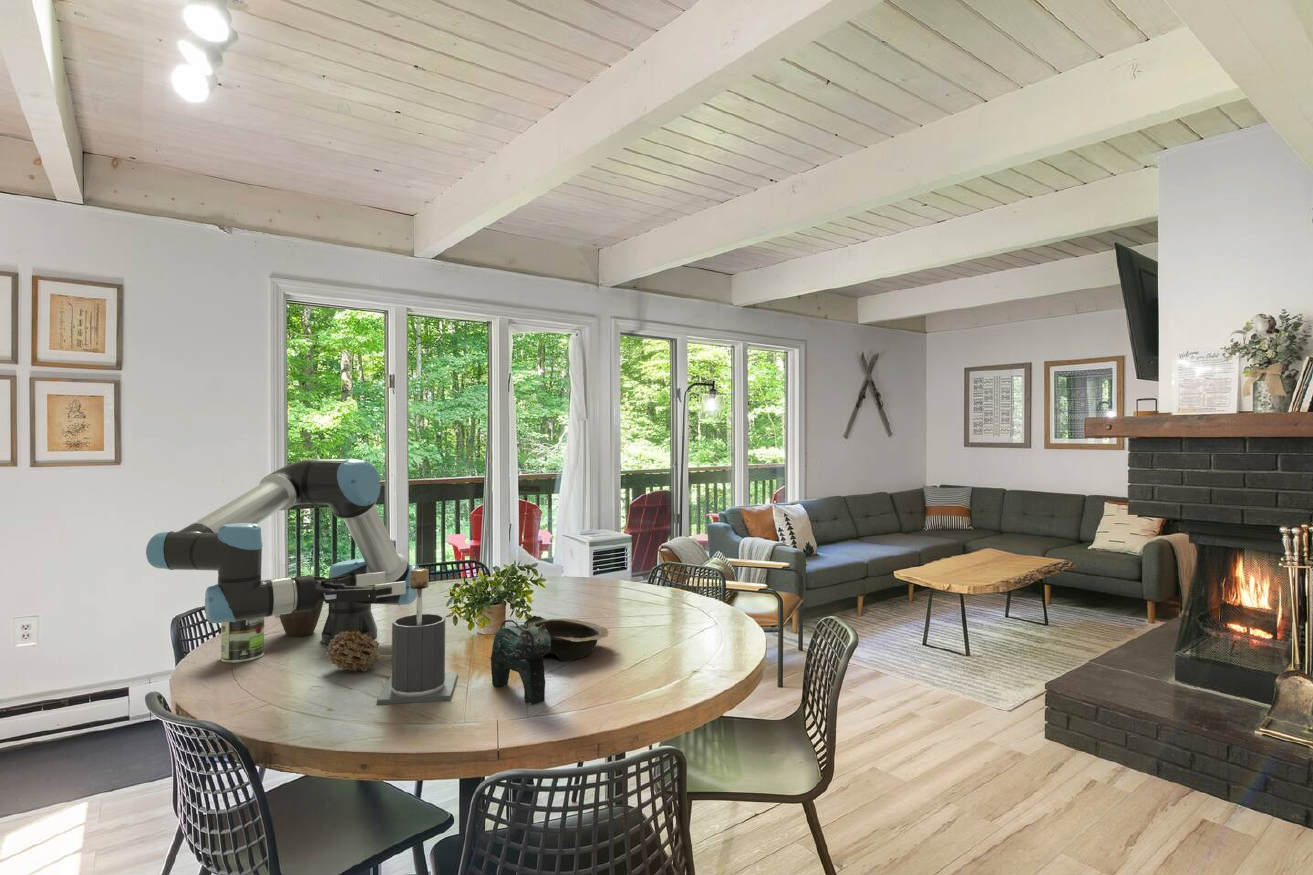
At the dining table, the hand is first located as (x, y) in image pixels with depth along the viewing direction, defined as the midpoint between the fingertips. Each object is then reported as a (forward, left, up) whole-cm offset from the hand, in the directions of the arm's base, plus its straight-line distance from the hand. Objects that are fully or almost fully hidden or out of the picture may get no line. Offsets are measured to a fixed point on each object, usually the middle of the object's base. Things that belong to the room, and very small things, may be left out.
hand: (394, 582), depth 158 cm
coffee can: (-37, -46, -27) cm, 65 cm away
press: (-5, +5, -27) cm, 28 cm away
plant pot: (-58, -38, -27) cm, 74 cm away
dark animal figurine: (+2, +28, -27) cm, 39 cm away
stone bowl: (-28, +41, -27) cm, 57 cm away
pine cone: (-20, -10, -27) cm, 35 cm away
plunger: (-3, +5, -25) cm, 25 cm away
